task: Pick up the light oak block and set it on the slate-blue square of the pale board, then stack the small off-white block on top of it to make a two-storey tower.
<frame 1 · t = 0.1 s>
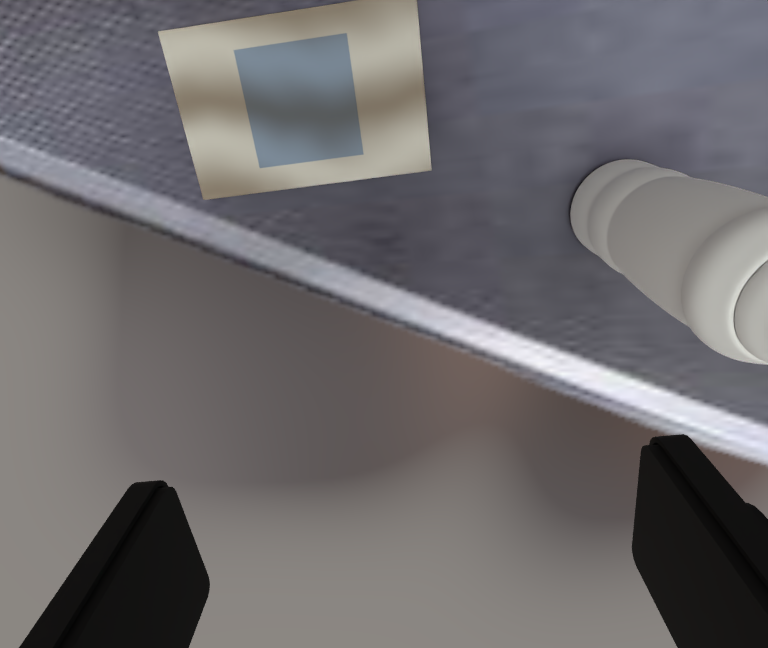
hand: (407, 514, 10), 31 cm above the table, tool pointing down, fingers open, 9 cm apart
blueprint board: (303, 103, 36), on the table
water bottle: (614, 206, 38), on the table
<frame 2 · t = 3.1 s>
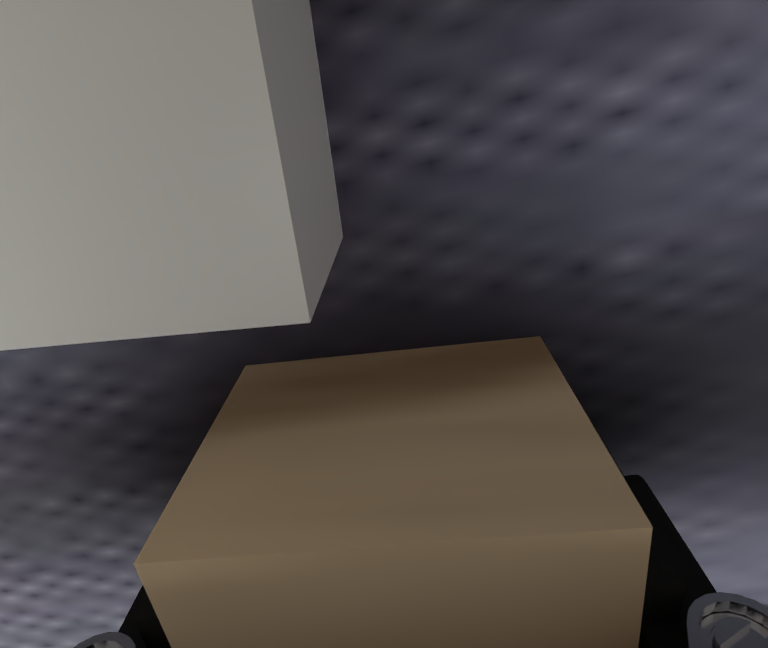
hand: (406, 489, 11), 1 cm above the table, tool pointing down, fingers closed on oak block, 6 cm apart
grey block: (177, 105, 9), on the table
oak block: (405, 464, 12), on the table, touching gripper
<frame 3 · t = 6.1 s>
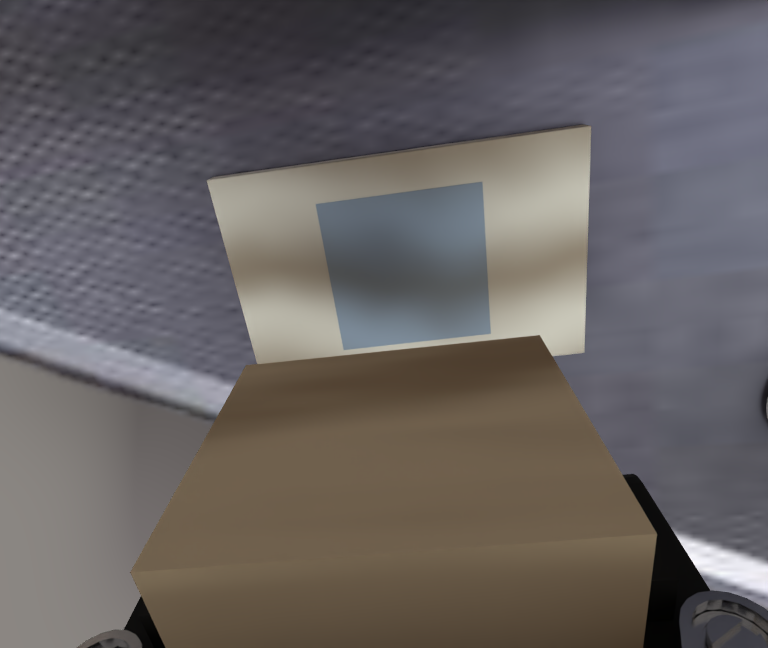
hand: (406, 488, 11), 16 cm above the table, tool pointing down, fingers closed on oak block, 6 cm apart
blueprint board: (407, 265, 25), on the table
oak block: (405, 467, 12), point 15 cm above the table, touching gripper
when the fingers open (3 cm above the table, at t = 9.0 s): oak block drops 1 cm, resting on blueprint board.
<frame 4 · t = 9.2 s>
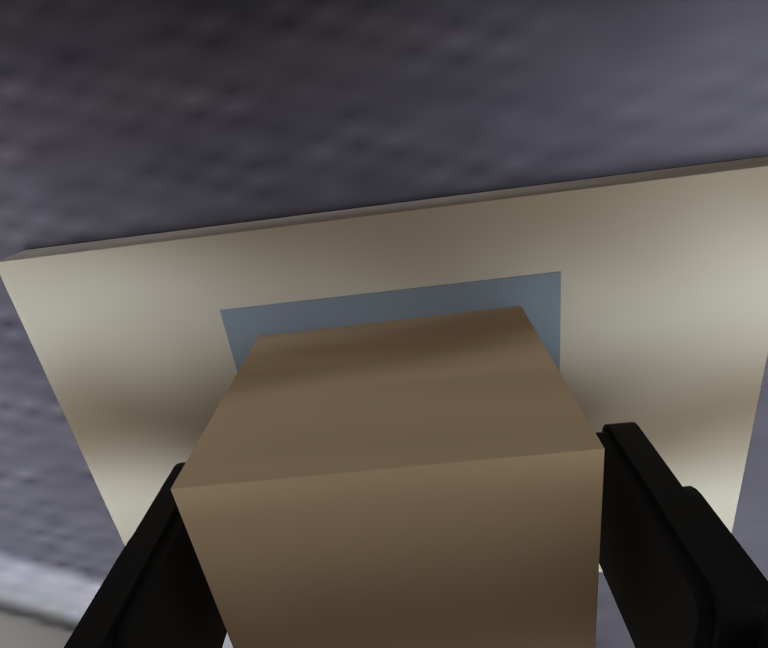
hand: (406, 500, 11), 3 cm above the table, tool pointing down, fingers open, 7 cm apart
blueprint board: (404, 409, 14), on the table
oak block: (403, 429, 13), point 1 cm above the table, touching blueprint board
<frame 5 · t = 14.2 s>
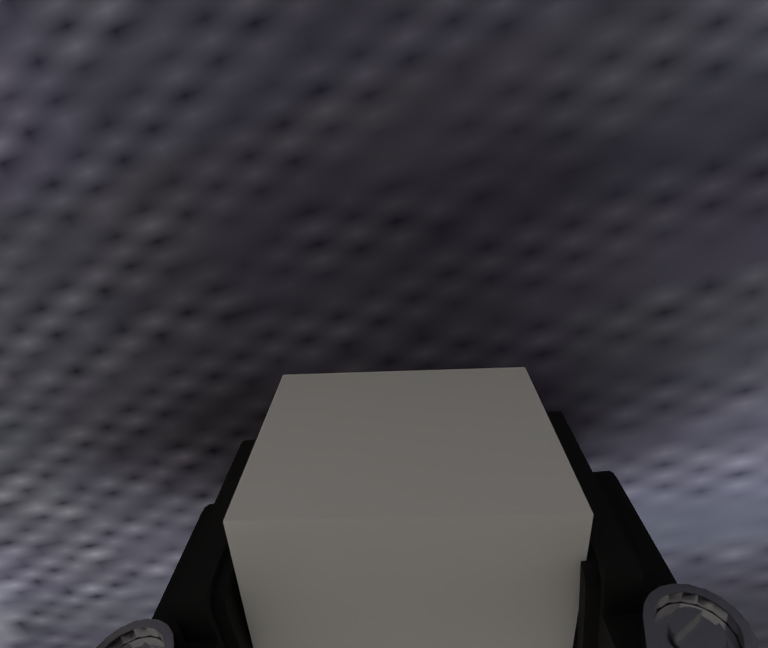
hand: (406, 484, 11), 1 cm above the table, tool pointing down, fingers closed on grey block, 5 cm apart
grey block: (406, 466, 12), on the table, touching gripper
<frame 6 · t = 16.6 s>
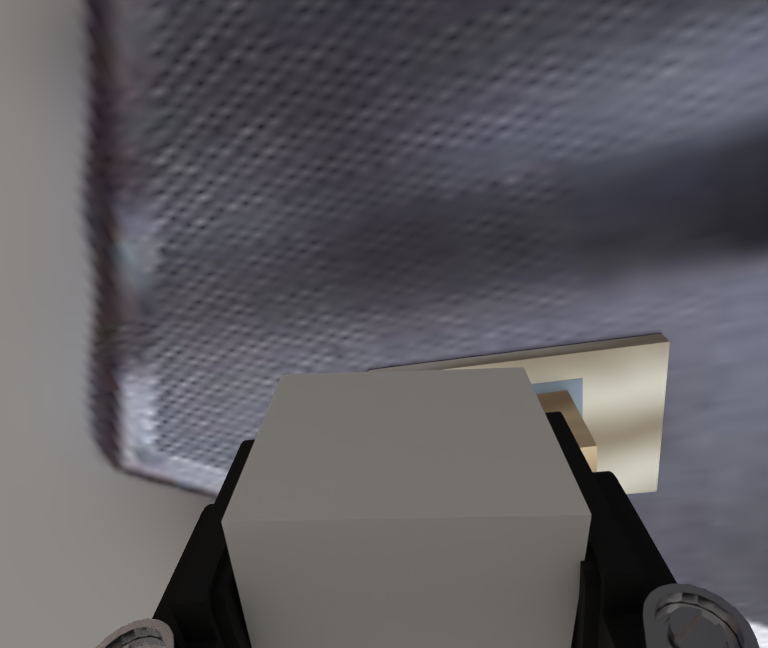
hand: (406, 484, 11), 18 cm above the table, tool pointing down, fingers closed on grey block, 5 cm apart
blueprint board: (515, 427, 32), on the table
grey block: (405, 467, 12), point 17 cm above the table, touching gripper
oak block: (518, 437, 31), point 1 cm above the table, touching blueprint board
when the fingers open (8 cm above the table, at t = 19.6 s): grey block drops 1 cm, resting on oak block.
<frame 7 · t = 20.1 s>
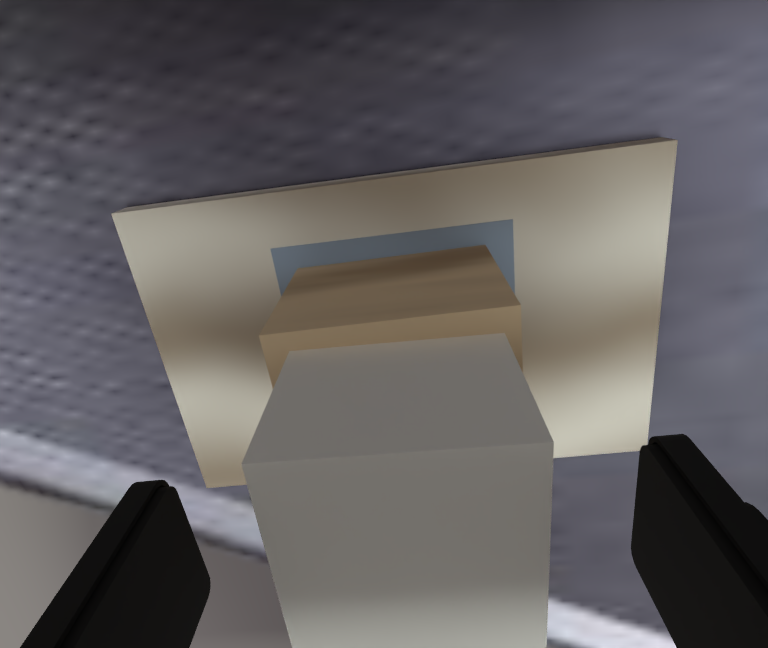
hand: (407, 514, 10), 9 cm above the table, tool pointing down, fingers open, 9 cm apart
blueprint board: (403, 330, 18), on the table
grey block: (405, 430, 13), point 6 cm above the table, touching oak block
oak block: (401, 341, 17), point 1 cm above the table, touching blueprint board, grey block
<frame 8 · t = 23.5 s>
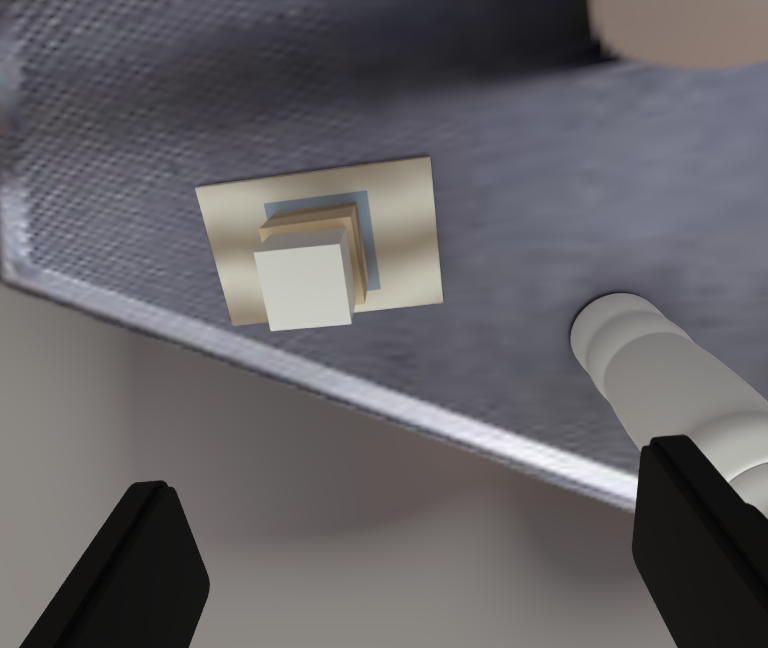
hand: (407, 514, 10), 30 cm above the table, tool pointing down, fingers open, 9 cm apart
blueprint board: (325, 244, 39), on the table
grey block: (314, 268, 34), point 6 cm above the table, touching oak block
water bottle: (610, 329, 42), on the table
oak block: (323, 246, 38), point 1 cm above the table, touching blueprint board, grey block
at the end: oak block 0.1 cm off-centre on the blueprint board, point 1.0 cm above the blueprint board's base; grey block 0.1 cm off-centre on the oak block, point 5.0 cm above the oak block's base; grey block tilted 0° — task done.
